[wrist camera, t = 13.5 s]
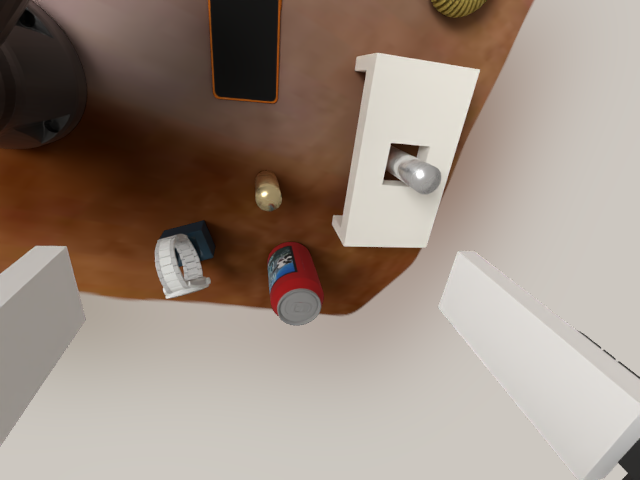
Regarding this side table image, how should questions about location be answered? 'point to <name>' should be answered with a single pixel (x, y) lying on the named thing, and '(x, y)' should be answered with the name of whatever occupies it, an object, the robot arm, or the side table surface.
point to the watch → (183, 258)
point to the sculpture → (457, 7)
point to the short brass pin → (267, 191)
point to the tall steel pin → (413, 171)
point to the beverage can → (294, 284)
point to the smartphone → (245, 49)
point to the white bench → (403, 128)
